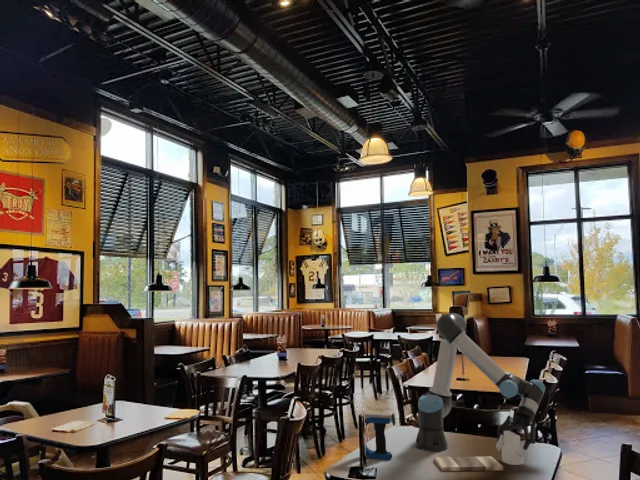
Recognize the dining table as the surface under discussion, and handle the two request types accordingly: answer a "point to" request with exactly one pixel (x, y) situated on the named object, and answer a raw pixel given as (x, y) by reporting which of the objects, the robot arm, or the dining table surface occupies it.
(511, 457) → the base with upright slab
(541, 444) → the dining table surface
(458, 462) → the pine board
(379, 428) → the cordless power drill
